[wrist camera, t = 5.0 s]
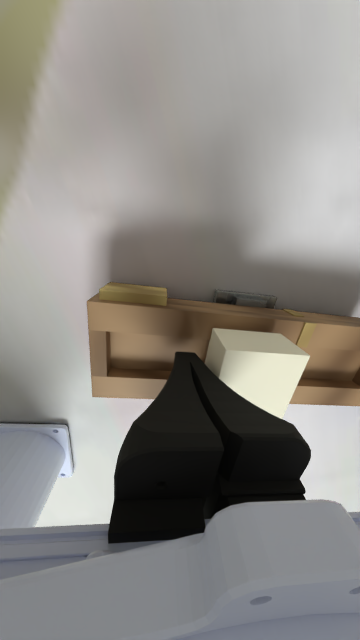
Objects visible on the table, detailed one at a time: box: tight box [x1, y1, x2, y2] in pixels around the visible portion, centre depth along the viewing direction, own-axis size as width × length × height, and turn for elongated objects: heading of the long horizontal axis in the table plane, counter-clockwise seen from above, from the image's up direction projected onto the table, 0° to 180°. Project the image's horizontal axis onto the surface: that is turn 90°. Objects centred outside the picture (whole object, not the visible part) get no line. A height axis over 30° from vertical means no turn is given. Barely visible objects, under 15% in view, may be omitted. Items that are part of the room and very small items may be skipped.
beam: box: [87, 282, 360, 406], centre depth 14 cm, size 22×8×3 cm, turn 83°
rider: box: [205, 328, 310, 419], centre depth 12 cm, size 4×6×4 cm
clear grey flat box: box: [213, 290, 277, 309], centre depth 16 cm, size 5×8×2 cm, turn 173°
